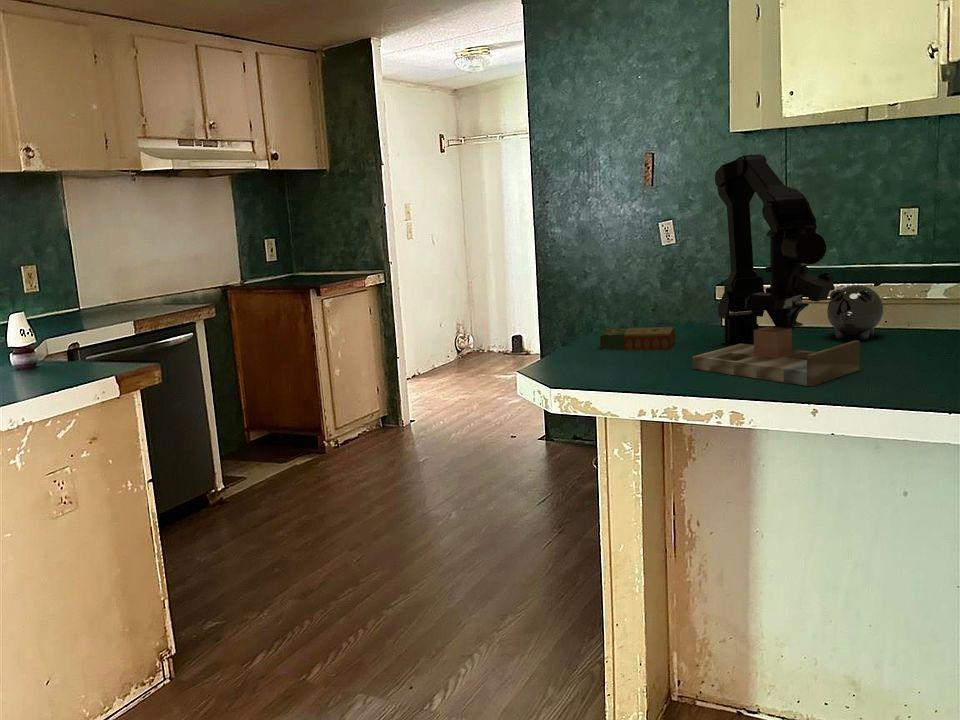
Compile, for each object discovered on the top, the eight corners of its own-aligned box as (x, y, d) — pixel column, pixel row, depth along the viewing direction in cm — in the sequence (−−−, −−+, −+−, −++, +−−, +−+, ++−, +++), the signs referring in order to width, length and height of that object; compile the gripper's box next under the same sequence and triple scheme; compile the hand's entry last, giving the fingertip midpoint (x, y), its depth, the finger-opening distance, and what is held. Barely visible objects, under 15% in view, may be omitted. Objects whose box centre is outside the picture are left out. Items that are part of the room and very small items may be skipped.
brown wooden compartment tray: (692, 368, 164) (692, 341, 163) (741, 355, 173) (740, 329, 172) (812, 386, 144) (812, 355, 143) (859, 369, 153) (859, 340, 152)
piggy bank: (819, 342, 180) (820, 290, 178) (834, 330, 192) (835, 281, 190) (875, 344, 174) (876, 290, 172) (887, 332, 186) (888, 281, 184)
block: (753, 355, 160) (753, 330, 159) (768, 351, 163) (768, 326, 162) (777, 358, 156) (777, 332, 155) (791, 353, 159) (791, 328, 158)
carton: (671, 351, 184) (670, 332, 183) (599, 351, 189) (599, 333, 189) (675, 344, 192) (674, 325, 191) (606, 344, 197) (606, 327, 196)
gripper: (797, 266, 147) (797, 352, 150) (851, 256, 158) (850, 336, 161) (743, 265, 155) (744, 347, 158) (797, 255, 167) (797, 331, 170)
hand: (785, 340), depth 162 cm, fingers closed
